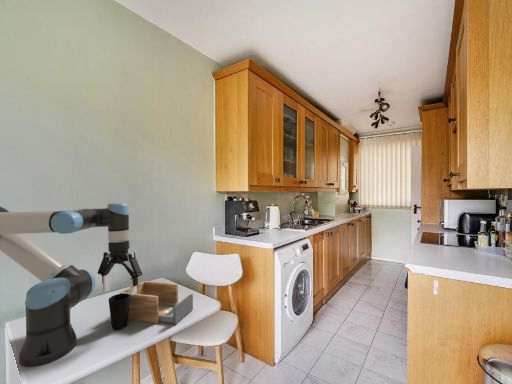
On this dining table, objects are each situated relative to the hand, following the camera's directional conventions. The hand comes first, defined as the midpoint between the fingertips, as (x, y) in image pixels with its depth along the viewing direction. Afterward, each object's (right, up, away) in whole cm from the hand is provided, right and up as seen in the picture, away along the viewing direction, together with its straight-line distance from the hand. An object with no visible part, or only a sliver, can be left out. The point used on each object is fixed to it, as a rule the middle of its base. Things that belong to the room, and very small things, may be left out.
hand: (120, 292), depth 99 cm
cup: (0, -14, 0) cm, 14 cm away
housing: (+7, -14, +11) cm, 19 cm away
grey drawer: (+16, -13, +9) cm, 23 cm away
